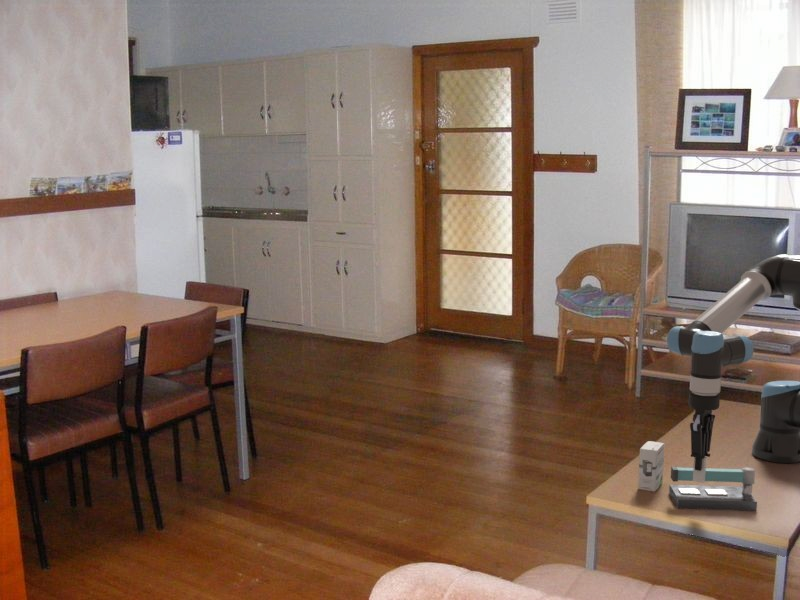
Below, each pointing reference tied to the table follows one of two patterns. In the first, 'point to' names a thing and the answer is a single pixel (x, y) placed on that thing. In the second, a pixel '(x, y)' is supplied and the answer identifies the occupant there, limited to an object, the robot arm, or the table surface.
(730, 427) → the table surface
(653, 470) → the ink box
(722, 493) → the plate
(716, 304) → the robot arm
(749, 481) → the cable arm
